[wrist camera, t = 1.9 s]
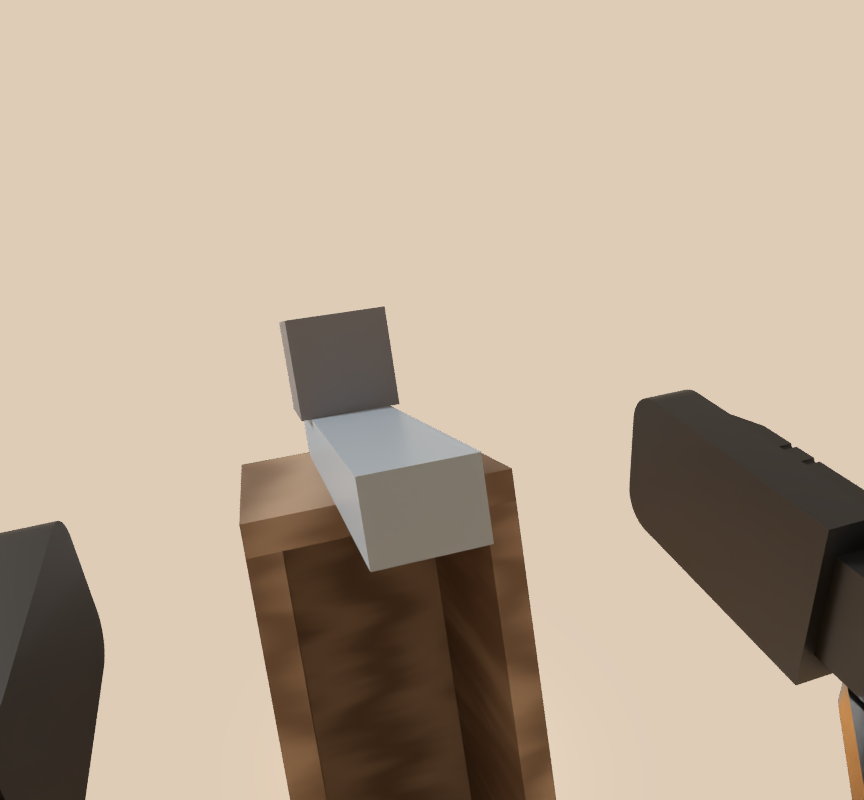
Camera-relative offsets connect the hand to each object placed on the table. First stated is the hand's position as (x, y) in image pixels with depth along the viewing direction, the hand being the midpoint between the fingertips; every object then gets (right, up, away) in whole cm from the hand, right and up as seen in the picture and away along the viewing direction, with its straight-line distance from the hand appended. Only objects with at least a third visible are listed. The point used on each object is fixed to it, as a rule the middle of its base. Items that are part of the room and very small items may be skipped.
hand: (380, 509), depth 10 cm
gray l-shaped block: (-2, -2, +23) cm, 23 cm away
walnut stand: (+1, -31, +32) cm, 45 cm away
